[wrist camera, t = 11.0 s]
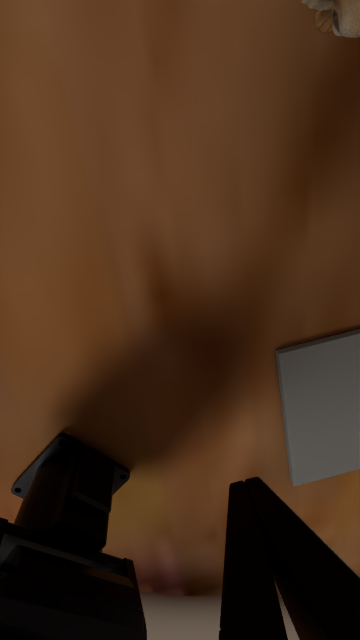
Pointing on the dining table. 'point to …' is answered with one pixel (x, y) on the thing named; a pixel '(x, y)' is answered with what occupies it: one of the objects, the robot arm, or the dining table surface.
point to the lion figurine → (337, 16)
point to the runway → (321, 406)
